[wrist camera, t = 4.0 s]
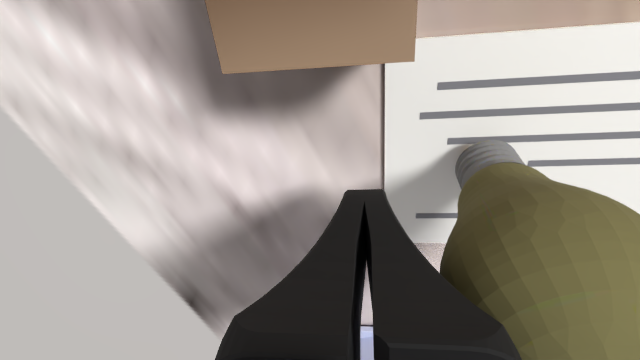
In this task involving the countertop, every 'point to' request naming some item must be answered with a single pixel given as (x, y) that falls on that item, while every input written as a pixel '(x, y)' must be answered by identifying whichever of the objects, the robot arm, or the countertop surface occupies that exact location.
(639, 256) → the light bulb
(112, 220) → the countertop surface
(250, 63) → the walnut block
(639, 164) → the letter
